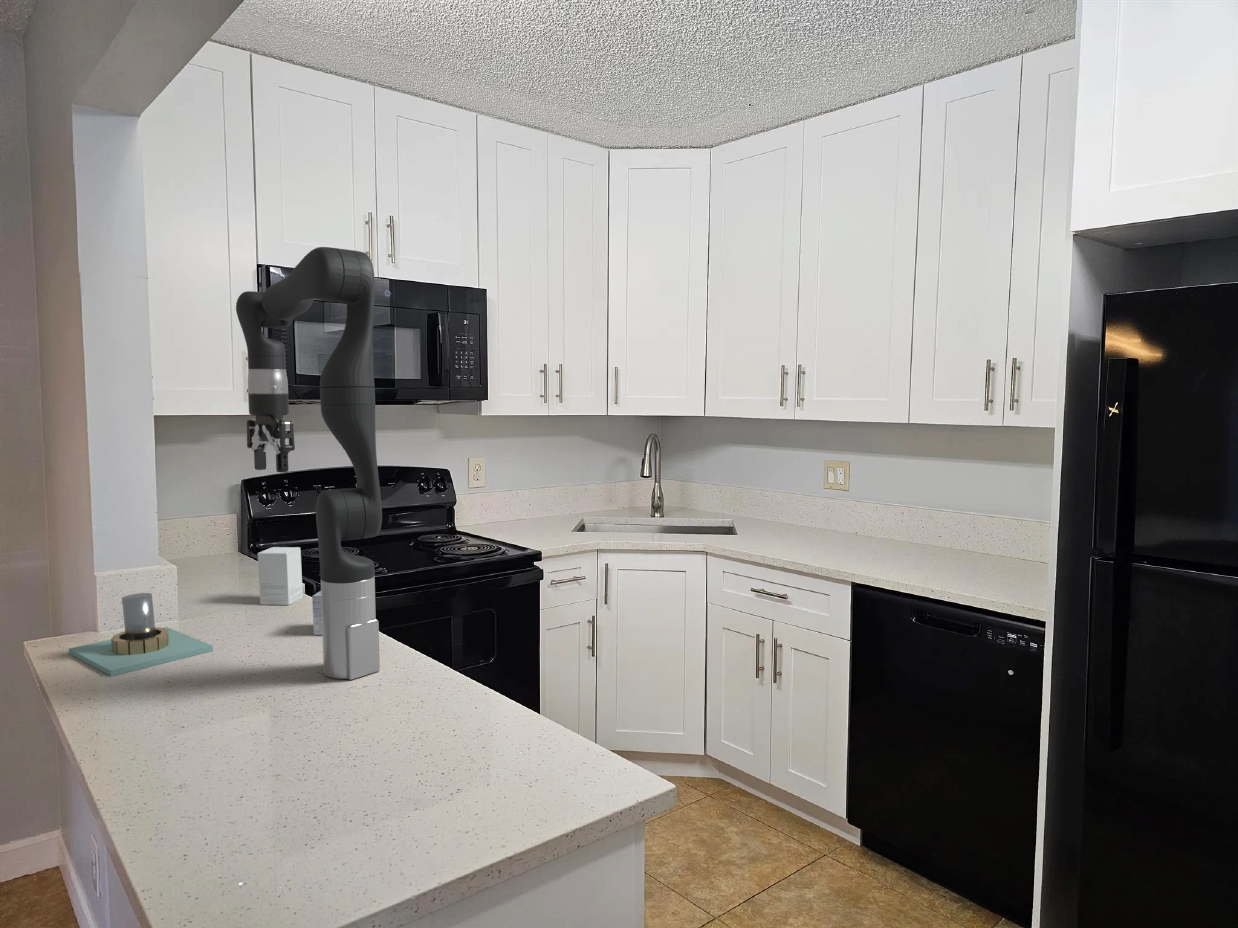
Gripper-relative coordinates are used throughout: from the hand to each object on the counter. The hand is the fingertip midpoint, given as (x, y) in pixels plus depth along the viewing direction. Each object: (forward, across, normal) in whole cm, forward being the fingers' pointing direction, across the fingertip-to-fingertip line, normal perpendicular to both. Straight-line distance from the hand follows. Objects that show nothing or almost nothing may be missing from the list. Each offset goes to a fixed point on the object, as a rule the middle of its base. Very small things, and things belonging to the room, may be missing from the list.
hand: (271, 470), depth 168 cm
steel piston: (+33, +9, +23) cm, 41 cm away
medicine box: (+34, -7, -8) cm, 36 cm away
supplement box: (+34, +23, -14) cm, 44 cm away
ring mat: (+34, +9, +23) cm, 42 cm away
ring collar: (+34, +9, +23) cm, 42 cm away
